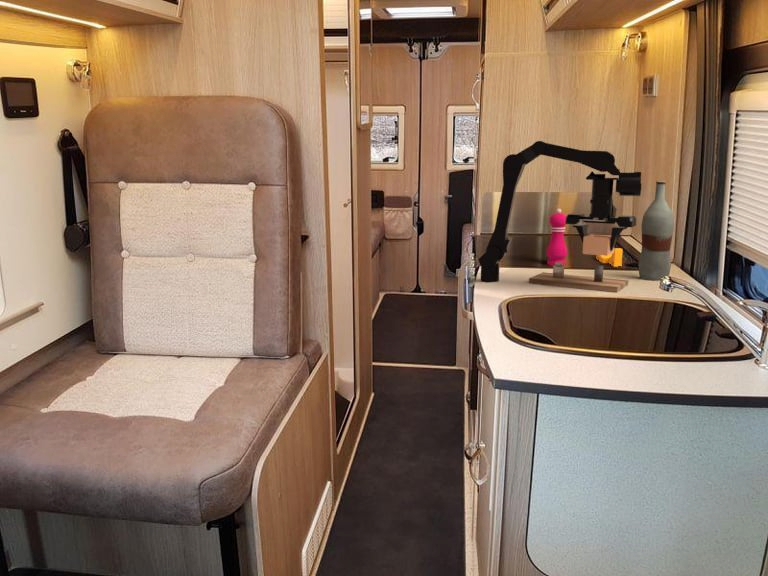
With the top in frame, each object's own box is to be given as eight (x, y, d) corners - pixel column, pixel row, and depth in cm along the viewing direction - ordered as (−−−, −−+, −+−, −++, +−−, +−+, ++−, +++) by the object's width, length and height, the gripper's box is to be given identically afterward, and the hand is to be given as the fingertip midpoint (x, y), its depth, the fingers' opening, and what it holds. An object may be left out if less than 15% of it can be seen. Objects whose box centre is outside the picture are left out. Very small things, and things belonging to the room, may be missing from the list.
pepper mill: (552, 267, 216) (555, 209, 212) (541, 264, 223) (544, 208, 219) (570, 266, 218) (573, 209, 214) (559, 263, 225) (562, 207, 221)
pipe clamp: (596, 262, 228) (597, 244, 226) (607, 261, 228) (608, 244, 226) (609, 267, 216) (610, 249, 215) (621, 267, 216) (622, 249, 215)
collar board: (617, 292, 175) (618, 271, 173) (528, 283, 189) (529, 263, 188) (627, 285, 184) (629, 265, 183) (543, 276, 199) (543, 258, 198)
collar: (607, 255, 177) (608, 238, 176) (582, 253, 181) (583, 236, 180) (613, 252, 182) (614, 235, 181) (589, 250, 186) (590, 234, 185)
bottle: (636, 279, 193) (643, 181, 187) (638, 274, 201) (644, 180, 195) (670, 281, 189) (678, 181, 183) (670, 276, 197) (677, 180, 191)
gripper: (642, 195, 180) (638, 248, 183) (578, 193, 190) (575, 244, 193) (633, 197, 171) (629, 253, 174) (566, 195, 181) (563, 248, 184)
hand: (598, 249), depth 181 cm, fingers closed on collar, 7 cm apart
